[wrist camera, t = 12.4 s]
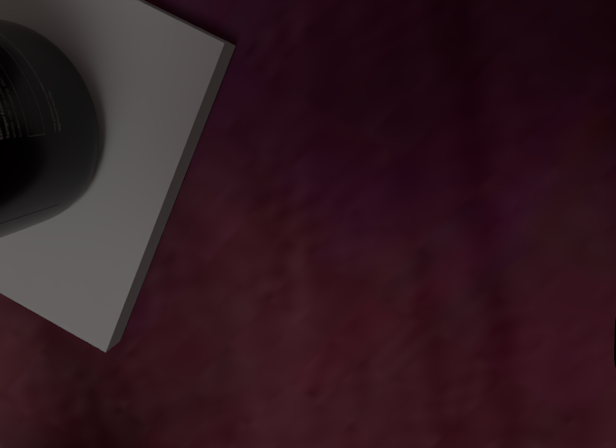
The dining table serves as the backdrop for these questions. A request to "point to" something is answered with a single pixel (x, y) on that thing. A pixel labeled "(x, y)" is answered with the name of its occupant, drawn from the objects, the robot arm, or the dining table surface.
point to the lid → (115, 158)
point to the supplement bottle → (41, 130)
